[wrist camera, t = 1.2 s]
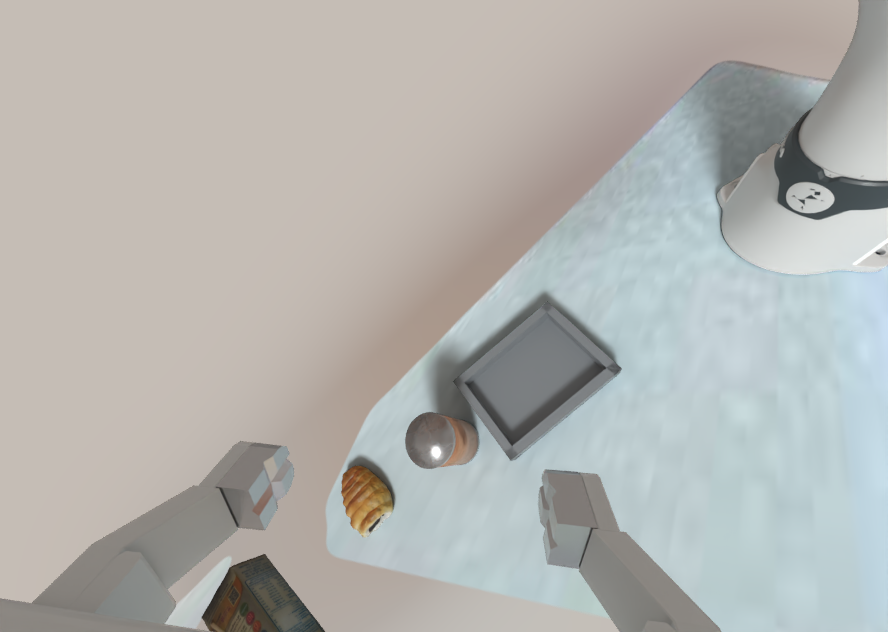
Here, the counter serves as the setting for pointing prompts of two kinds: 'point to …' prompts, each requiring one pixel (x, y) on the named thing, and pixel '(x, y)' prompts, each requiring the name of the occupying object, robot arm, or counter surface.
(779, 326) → the counter surface
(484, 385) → the tray
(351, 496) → the pastry
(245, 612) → the beverage carton
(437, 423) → the tin can
